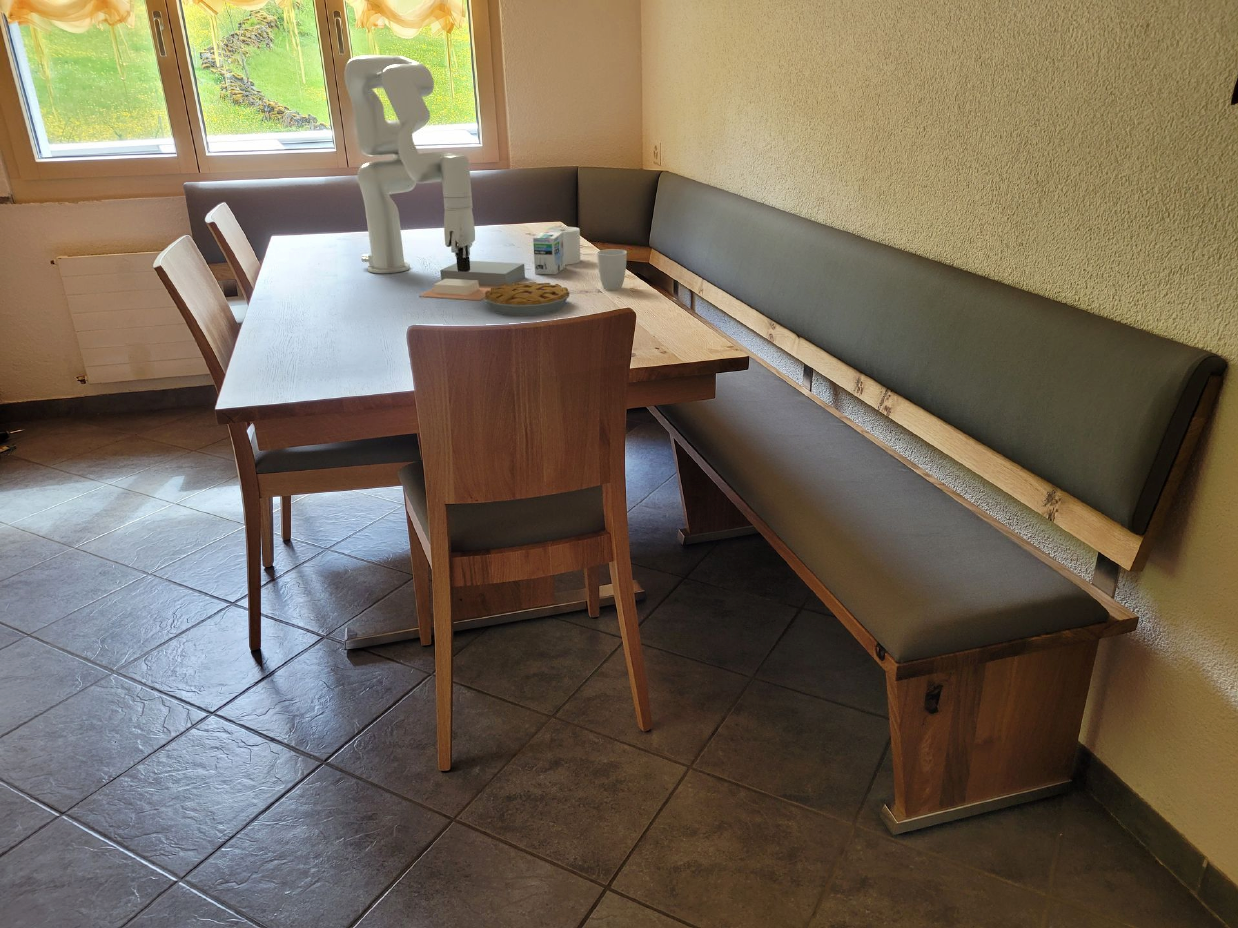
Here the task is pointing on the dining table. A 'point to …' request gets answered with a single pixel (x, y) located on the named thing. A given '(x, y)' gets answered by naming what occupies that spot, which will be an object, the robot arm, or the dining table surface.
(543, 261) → the light bulb box
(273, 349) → the dining table surface
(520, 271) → the grey flat slab
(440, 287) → the cream rectangular block
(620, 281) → the cup
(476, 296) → the mat
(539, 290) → the pie
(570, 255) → the toilet tissue
